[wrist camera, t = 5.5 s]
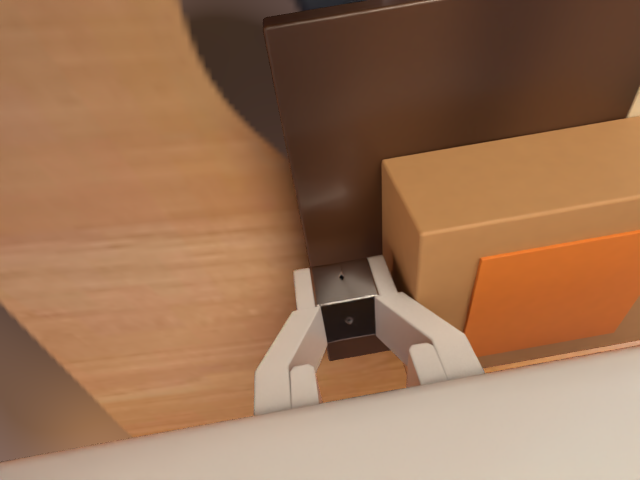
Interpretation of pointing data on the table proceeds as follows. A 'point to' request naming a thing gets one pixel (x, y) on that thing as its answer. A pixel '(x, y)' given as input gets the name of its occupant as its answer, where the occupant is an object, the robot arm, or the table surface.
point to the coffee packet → (522, 239)
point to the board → (432, 96)
